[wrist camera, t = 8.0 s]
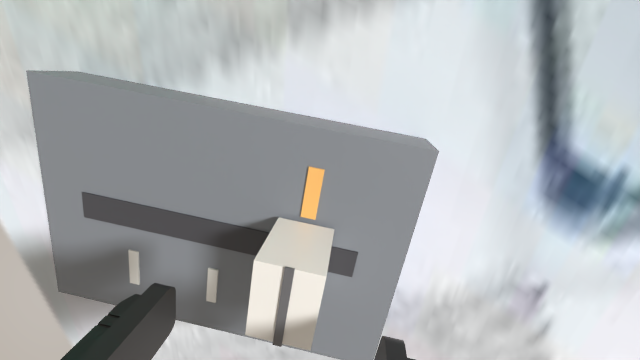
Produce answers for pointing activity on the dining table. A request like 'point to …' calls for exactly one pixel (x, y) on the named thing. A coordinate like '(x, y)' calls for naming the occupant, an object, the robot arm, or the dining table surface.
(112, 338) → the robot arm
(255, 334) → the fader
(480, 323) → the dining table surface
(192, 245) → the fader console
